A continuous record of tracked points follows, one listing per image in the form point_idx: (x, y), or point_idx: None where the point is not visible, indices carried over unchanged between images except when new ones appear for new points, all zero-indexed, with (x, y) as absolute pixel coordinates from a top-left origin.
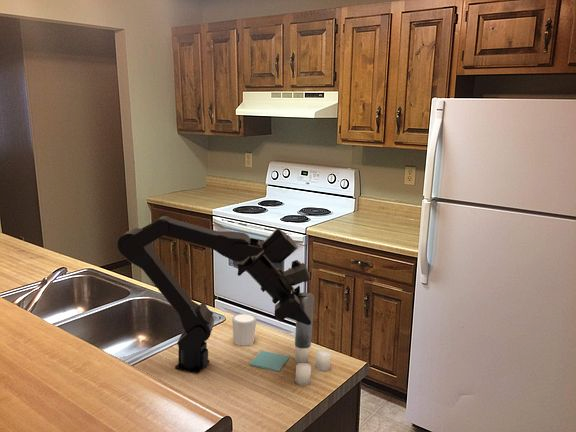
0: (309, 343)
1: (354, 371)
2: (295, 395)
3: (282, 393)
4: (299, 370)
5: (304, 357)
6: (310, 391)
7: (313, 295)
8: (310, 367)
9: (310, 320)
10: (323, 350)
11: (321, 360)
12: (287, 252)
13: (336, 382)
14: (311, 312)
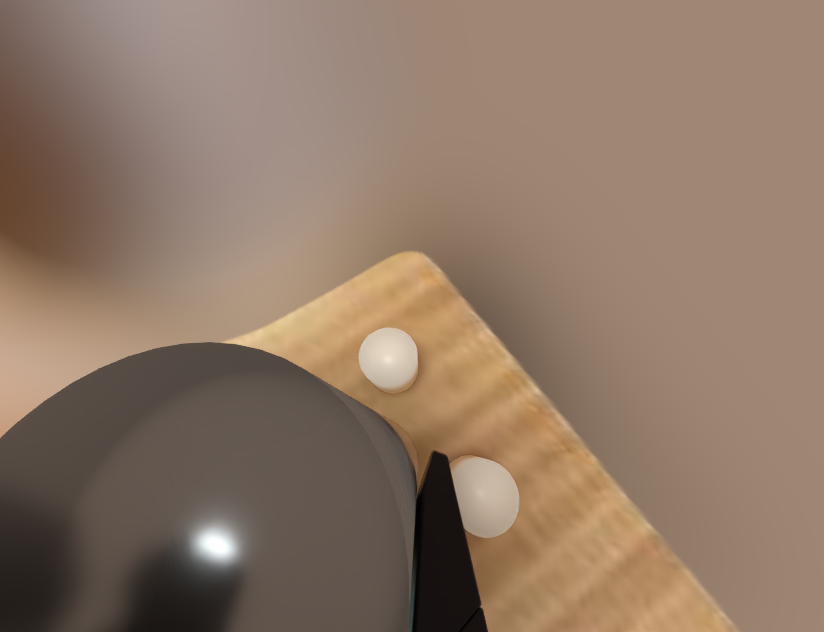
0: (411, 440)
1: (444, 281)
2: (560, 557)
3: (539, 611)
4: (506, 528)
5: None
6: (540, 482)
7: (247, 362)
8: (496, 466)
9: (438, 465)
10: (366, 346)
11: (412, 377)
12: None
13: (497, 363)
14: (401, 444)
